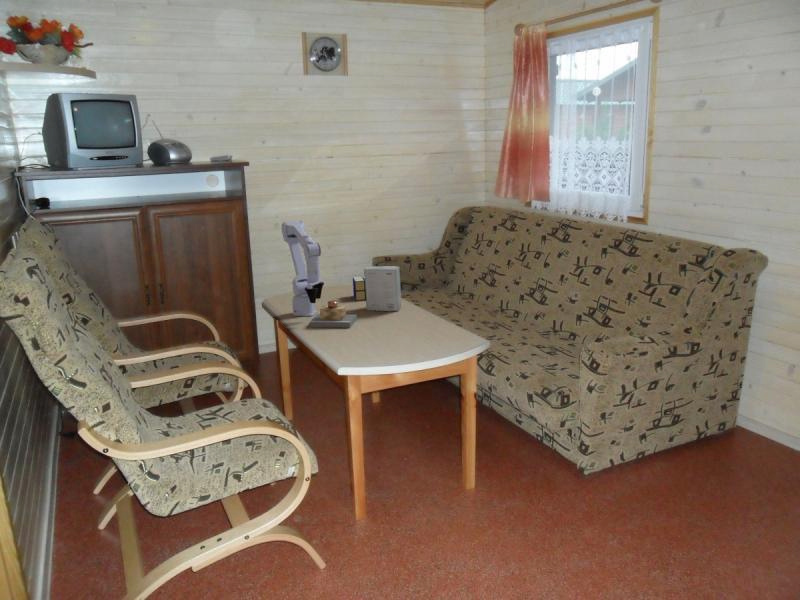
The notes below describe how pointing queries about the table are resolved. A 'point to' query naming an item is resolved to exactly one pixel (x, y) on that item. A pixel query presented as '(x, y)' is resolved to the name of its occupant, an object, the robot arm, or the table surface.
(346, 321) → the loading dock
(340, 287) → the table surface
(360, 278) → the puzzle cube
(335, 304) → the brown rounded piece
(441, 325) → the table surface
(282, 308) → the table surface
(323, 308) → the tan rectangular block
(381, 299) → the hard drive box
